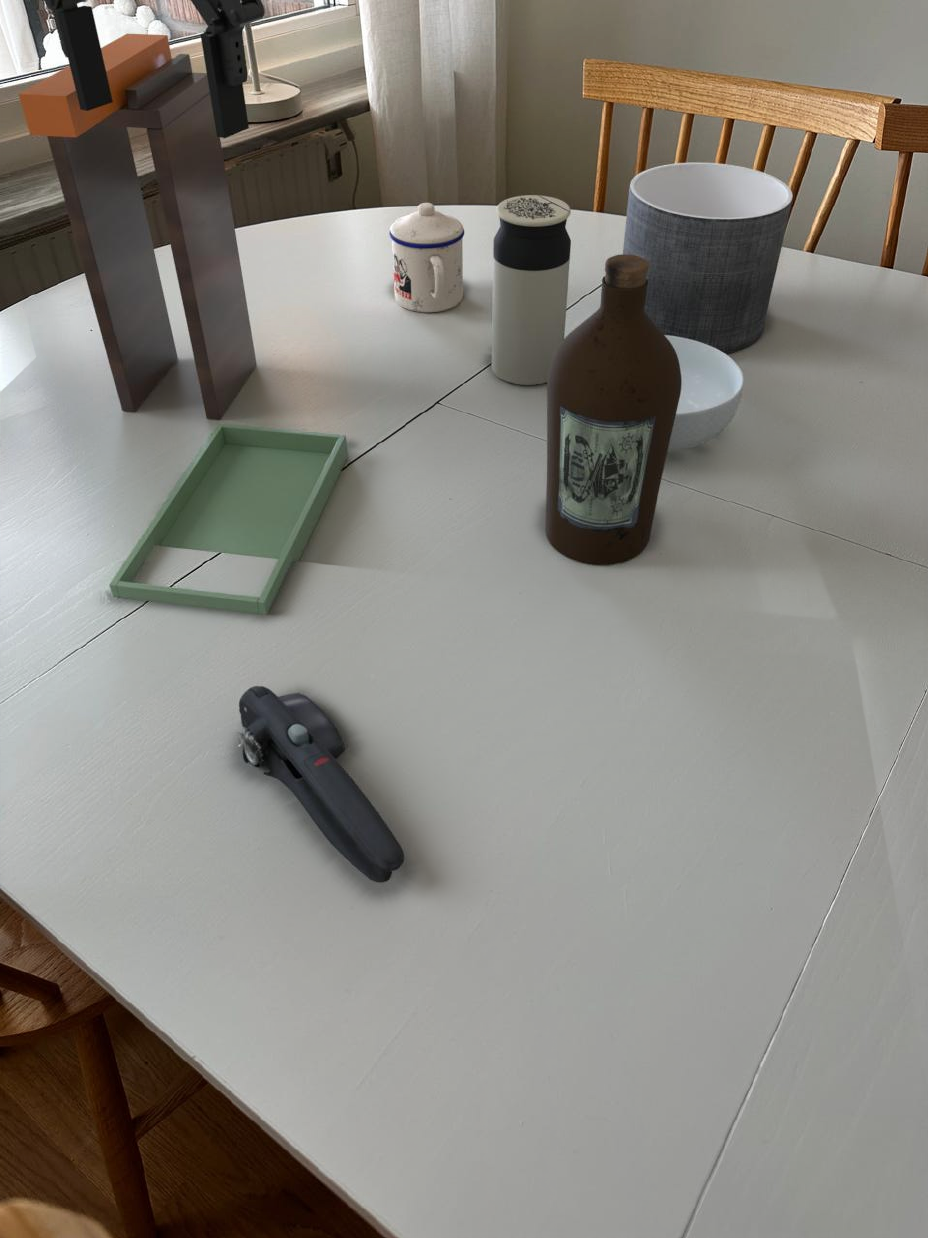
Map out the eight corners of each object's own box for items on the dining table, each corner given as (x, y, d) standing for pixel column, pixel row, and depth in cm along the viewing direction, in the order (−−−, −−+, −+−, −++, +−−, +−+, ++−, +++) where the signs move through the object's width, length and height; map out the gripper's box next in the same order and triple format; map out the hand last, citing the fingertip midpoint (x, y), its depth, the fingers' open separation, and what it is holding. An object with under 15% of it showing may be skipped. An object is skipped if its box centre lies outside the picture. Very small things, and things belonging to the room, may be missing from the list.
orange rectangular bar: (29, 134, 78) (17, 93, 76) (134, 69, 92) (126, 33, 90) (76, 137, 77) (65, 95, 75) (174, 71, 92) (167, 34, 90)
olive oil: (548, 492, 93) (566, 228, 76) (660, 507, 91) (704, 240, 74) (528, 562, 85) (543, 285, 68) (650, 579, 84) (697, 300, 67)
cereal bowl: (698, 385, 108) (709, 325, 103) (757, 469, 96) (772, 405, 91) (549, 399, 106) (552, 338, 101) (589, 486, 94) (596, 422, 89)
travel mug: (510, 393, 107) (515, 227, 94) (479, 361, 112) (481, 200, 100) (574, 378, 109) (587, 214, 97) (541, 347, 114) (550, 188, 102)
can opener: (221, 744, 70) (207, 691, 67) (307, 703, 73) (298, 649, 69) (345, 927, 60) (337, 876, 56) (440, 870, 63) (438, 818, 59)
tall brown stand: (121, 411, 104) (32, 84, 83) (166, 357, 113) (95, 49, 92) (220, 420, 103) (154, 90, 82) (257, 365, 112) (206, 54, 90)
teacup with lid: (387, 287, 127) (381, 194, 119) (455, 280, 128) (454, 188, 120) (405, 328, 118) (400, 232, 110) (478, 320, 120) (478, 224, 112)
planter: (760, 296, 124) (787, 166, 114) (767, 363, 112) (798, 224, 101) (619, 286, 127) (633, 158, 116) (610, 350, 114) (625, 213, 103)
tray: (116, 607, 81) (108, 584, 80) (222, 444, 100) (218, 422, 98) (268, 625, 80) (264, 602, 78) (348, 456, 98) (346, 434, 96)
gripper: (291, -259, 57) (326, 130, 72) (-4, -261, 66) (80, 84, 81) (206, -257, 53) (262, 159, 67) (-99, -260, 62) (8, 107, 76)
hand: (162, 119), depth 74 cm, fingers open, 13 cm apart
